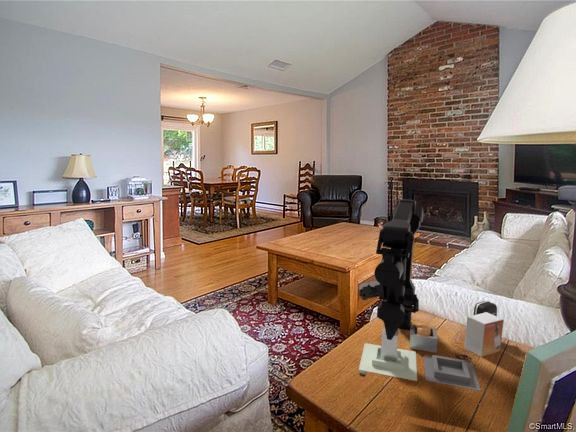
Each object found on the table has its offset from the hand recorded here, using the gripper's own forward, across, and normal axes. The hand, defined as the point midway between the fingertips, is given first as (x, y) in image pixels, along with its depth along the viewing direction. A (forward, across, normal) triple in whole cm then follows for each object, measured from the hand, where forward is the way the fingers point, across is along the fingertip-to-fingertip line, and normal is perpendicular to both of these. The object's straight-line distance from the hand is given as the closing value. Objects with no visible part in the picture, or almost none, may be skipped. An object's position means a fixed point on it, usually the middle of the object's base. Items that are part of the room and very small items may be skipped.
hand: (390, 331), depth 92 cm
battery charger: (+9, -24, +27) cm, 37 cm away
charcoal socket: (+9, 0, +15) cm, 18 cm away
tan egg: (+8, -12, +9) cm, 17 cm away
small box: (+10, -15, +25) cm, 31 cm away
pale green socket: (+9, 0, 0) cm, 9 cm away
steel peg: (+8, 0, 0) cm, 8 cm away
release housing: (+9, -12, +9) cm, 18 cm away
